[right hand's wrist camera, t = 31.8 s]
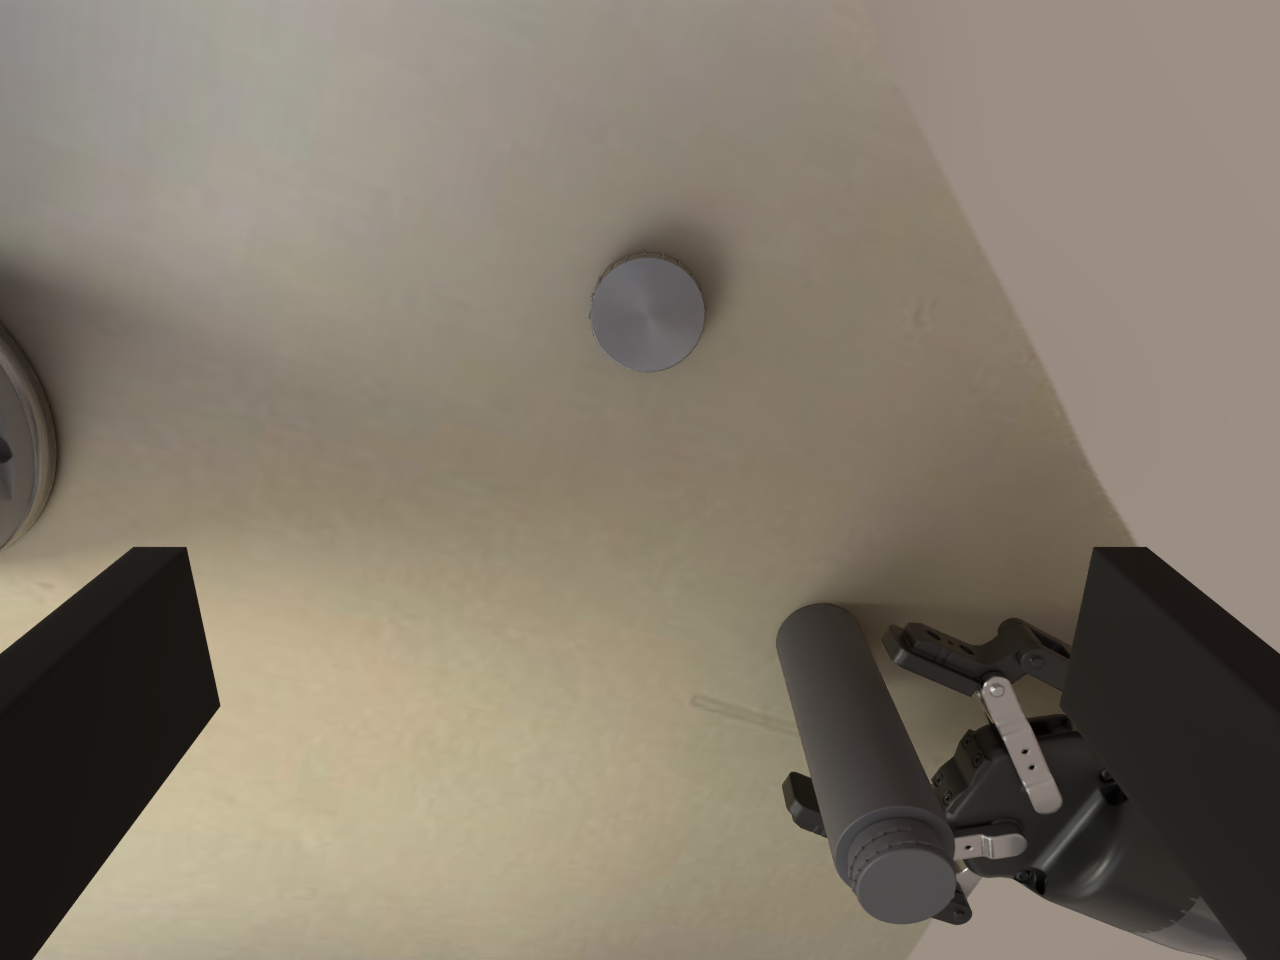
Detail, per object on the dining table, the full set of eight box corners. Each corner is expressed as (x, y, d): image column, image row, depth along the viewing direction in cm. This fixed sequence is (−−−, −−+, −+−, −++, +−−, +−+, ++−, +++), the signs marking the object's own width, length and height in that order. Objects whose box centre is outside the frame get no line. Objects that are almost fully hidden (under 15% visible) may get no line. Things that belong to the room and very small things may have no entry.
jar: (863, 602, 42) (977, 837, 28) (858, 675, 44) (964, 933, 30) (777, 604, 42) (846, 840, 28) (775, 677, 44) (840, 936, 30)
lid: (617, 231, 36) (616, 236, 34) (722, 279, 37) (726, 285, 35) (573, 336, 38) (571, 345, 36) (674, 380, 38) (676, 391, 37)
